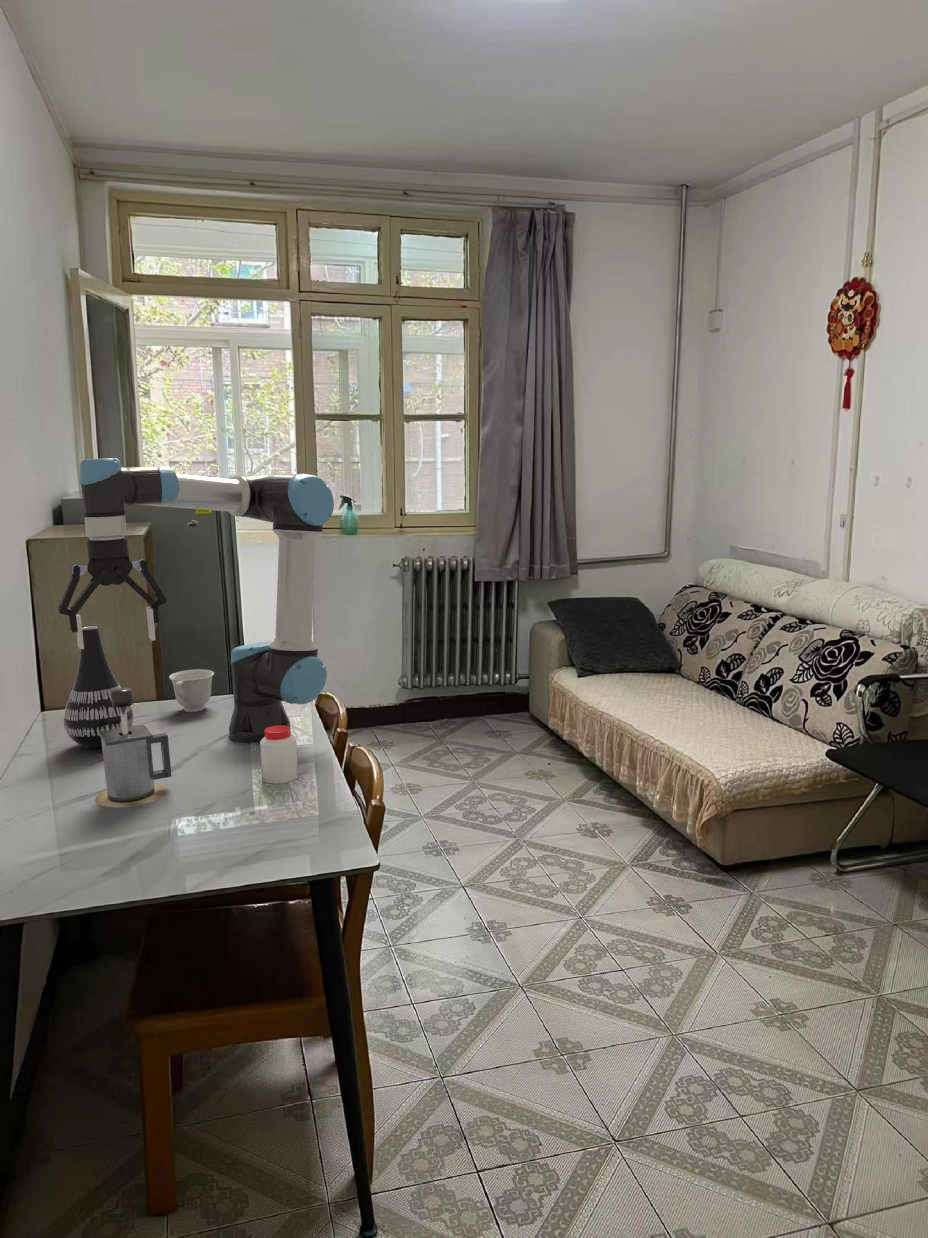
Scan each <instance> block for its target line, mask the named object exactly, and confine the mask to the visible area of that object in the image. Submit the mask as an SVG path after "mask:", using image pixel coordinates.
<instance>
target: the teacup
mask: <svg viewBox="0 0 928 1238" xmlns="http://www.w3.org/2000/svg"><path fill="white" fill-rule="evenodd" d="M214 675H215V672H214V671H213V670H210V669H205V668H204V669H199V668H198V669H195V668H194V669H186V670H180V671H177V672H174V673H171V674H170V675H169V677H168V678H169V679H170V680H171V683H172V686H173V690H174V696H175V699H176V702H177V703H178V705H180V706H182V707H183V712H186V713H196V712H197V713H198V712H201V711H204V710H205V709H206V706H205V705H206V704H207V703H208V702H209V701H210V700H211V697H212V696H211V695H212V679H213V676H214ZM203 709H204V710H203Z"/></svg>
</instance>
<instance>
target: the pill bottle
mask: <svg viewBox="0 0 928 1238" xmlns="http://www.w3.org/2000/svg"><path fill="white" fill-rule="evenodd" d="M290 727H291V726H290ZM290 727H289V726H284V725H277V726H271V727H268V728H266V729H265V730H264V731H265V737H264V738H263V739H262V740H261V741H260V742H259V747H260V751H259V752H260V762H261V778H262V781H263V782H265V783H267V784H272V785H274V784H277V785H280V784H287V783H290V782H293V781H295V780H297V779H298V778H299V763H298V759H299V758H298V744H297V743H298V742H297V738H296V737H295V736H294V735H293V734H291V733H292V731H291V732H290Z"/></svg>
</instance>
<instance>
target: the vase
mask: <svg viewBox="0 0 928 1238" xmlns="http://www.w3.org/2000/svg"><path fill="white" fill-rule="evenodd" d="M99 629H100V628H99V627H98V626H97V625H96V626H93V625H90V626H85V627H83V626H82V634H83V643H84V649H79V650H80V651H79V660H78V665H77V670H76V671H77V672H76V677H75V679H74V682H73V687H72V688H71V691H70V694H69V697H68V699H67V702H66V706H65V708H64V711H63V726H64V730H65V733H66V735H67V736H68V737H69V738H70V739H71V740H72V741H74V742H75V743H76V744H78V745H80V746H82V747H85V748H87V749H89V750H94V751H96V750H98V751H99V750H102V741H101V737H100V735H99V732H100V731H107V730H113V729H119V728H122V725H121V715H120V707H113V706H112V699H111V691H112V690H114V689H118V688H122V687H121V685H120V683H119V682H118V680H117V679H116V676H115V675H114V673H113V671H112V668H111V666H110V665H109V661H108V658H107V655H106V652H105V649H104V646H103V642H102V638H101V634H100V630H99ZM126 711H127V722H128V727H131V726H133V724H134V711H133V707H132V705H130V706H127V707H126Z"/></svg>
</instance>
